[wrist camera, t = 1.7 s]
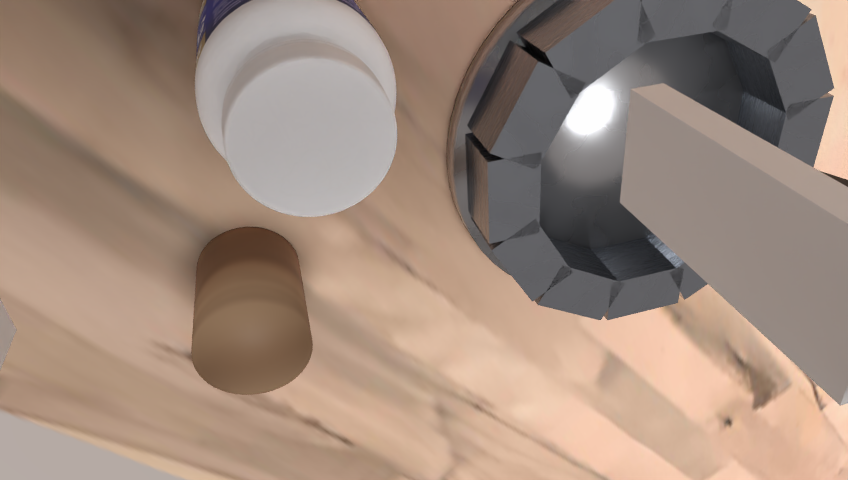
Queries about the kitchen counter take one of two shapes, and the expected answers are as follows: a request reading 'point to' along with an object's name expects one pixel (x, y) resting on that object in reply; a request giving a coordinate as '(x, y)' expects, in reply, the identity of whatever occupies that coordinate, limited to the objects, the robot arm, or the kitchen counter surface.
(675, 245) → the robot arm
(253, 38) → the pill bottle
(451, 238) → the kitchen counter surface
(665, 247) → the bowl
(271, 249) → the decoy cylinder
